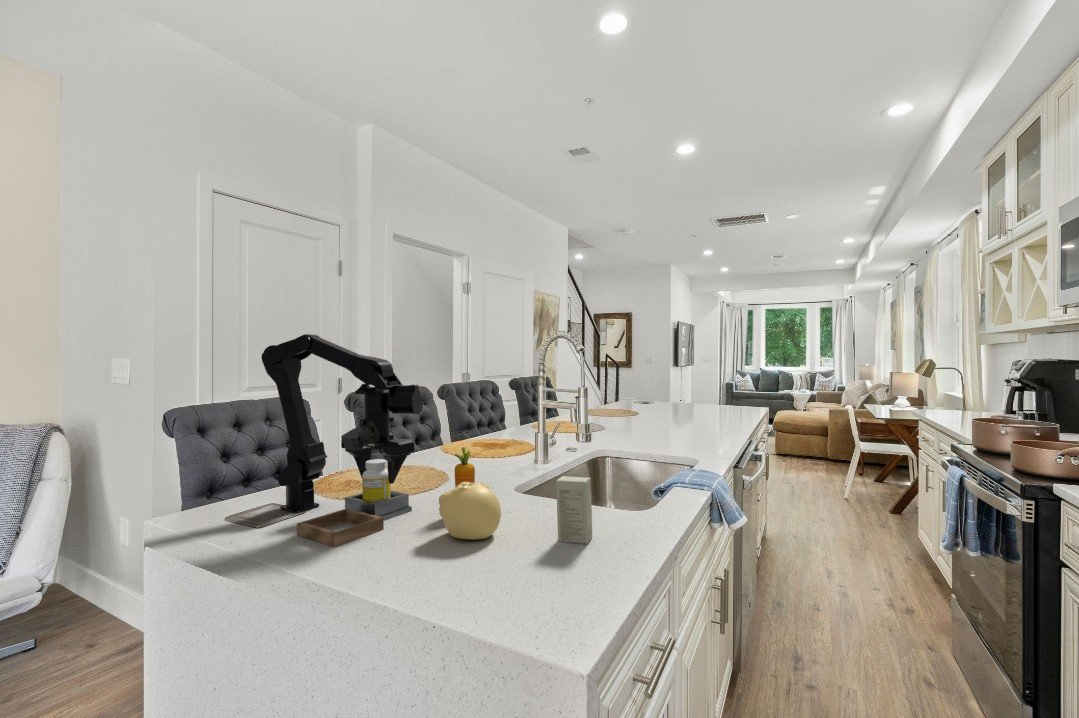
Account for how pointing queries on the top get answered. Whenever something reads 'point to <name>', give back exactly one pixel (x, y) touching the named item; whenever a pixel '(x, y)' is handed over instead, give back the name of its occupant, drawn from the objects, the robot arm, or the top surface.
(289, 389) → the robot arm
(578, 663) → the top surface
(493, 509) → the sculpture
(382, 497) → the pill bottle
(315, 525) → the walnut collar
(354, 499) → the dark metal seat block
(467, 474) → the carrot
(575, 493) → the skincare box
